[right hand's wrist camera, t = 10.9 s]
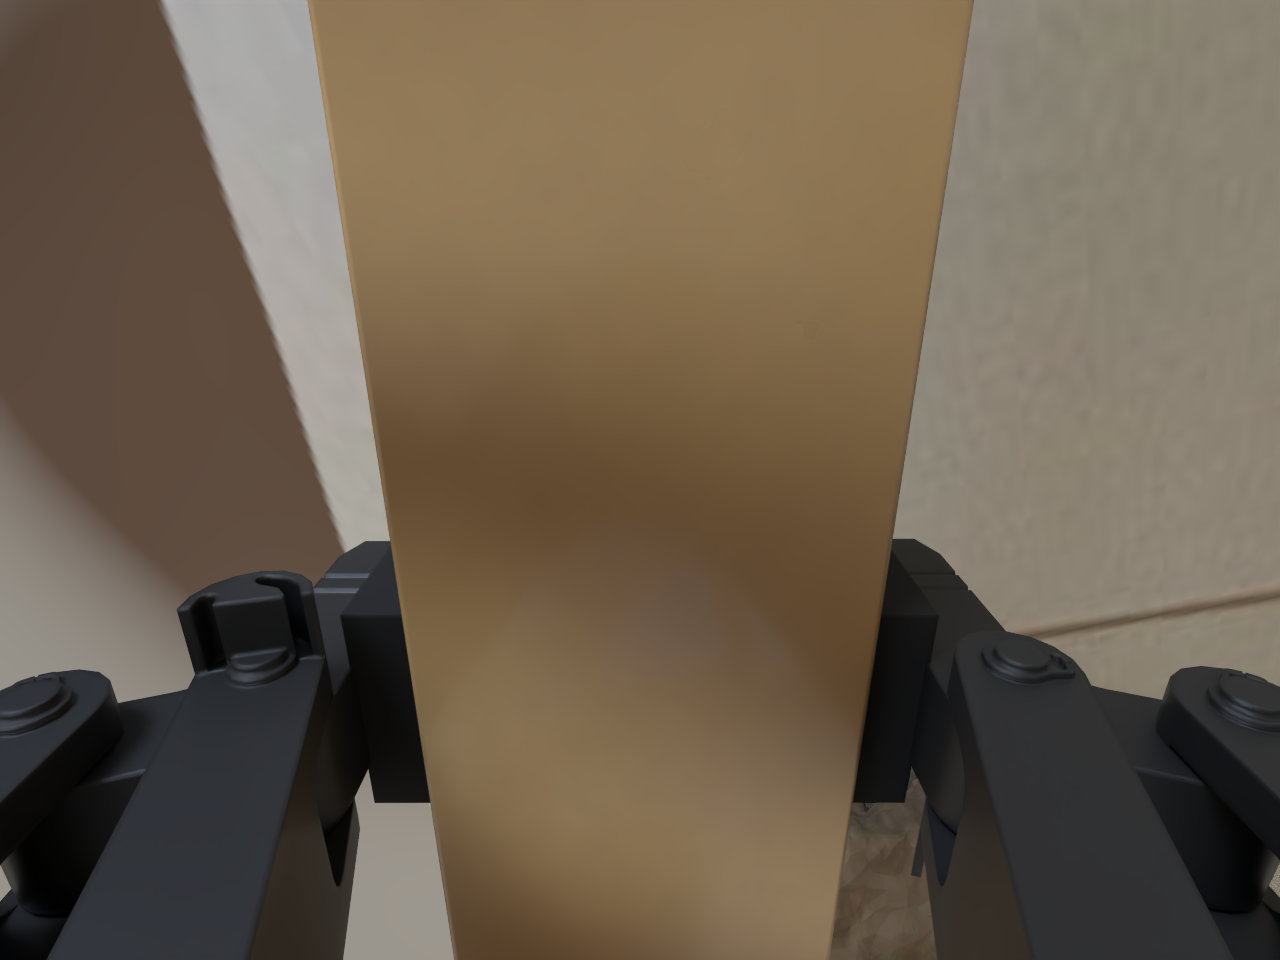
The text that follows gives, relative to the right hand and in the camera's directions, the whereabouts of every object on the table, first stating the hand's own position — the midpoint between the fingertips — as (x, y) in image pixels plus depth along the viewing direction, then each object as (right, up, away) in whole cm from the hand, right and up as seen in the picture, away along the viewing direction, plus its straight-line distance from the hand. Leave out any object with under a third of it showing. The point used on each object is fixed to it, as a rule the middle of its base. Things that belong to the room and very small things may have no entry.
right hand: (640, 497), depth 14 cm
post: (0, +23, -9) cm, 25 cm away
